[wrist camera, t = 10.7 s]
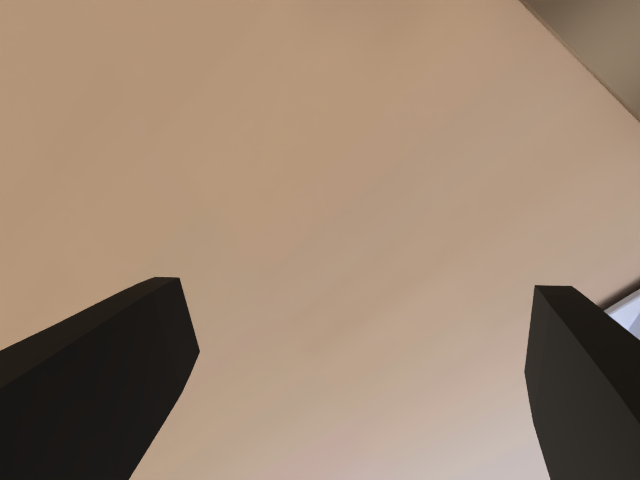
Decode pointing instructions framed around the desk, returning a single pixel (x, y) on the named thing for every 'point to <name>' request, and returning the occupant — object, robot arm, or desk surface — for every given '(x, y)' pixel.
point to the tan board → (599, 40)
